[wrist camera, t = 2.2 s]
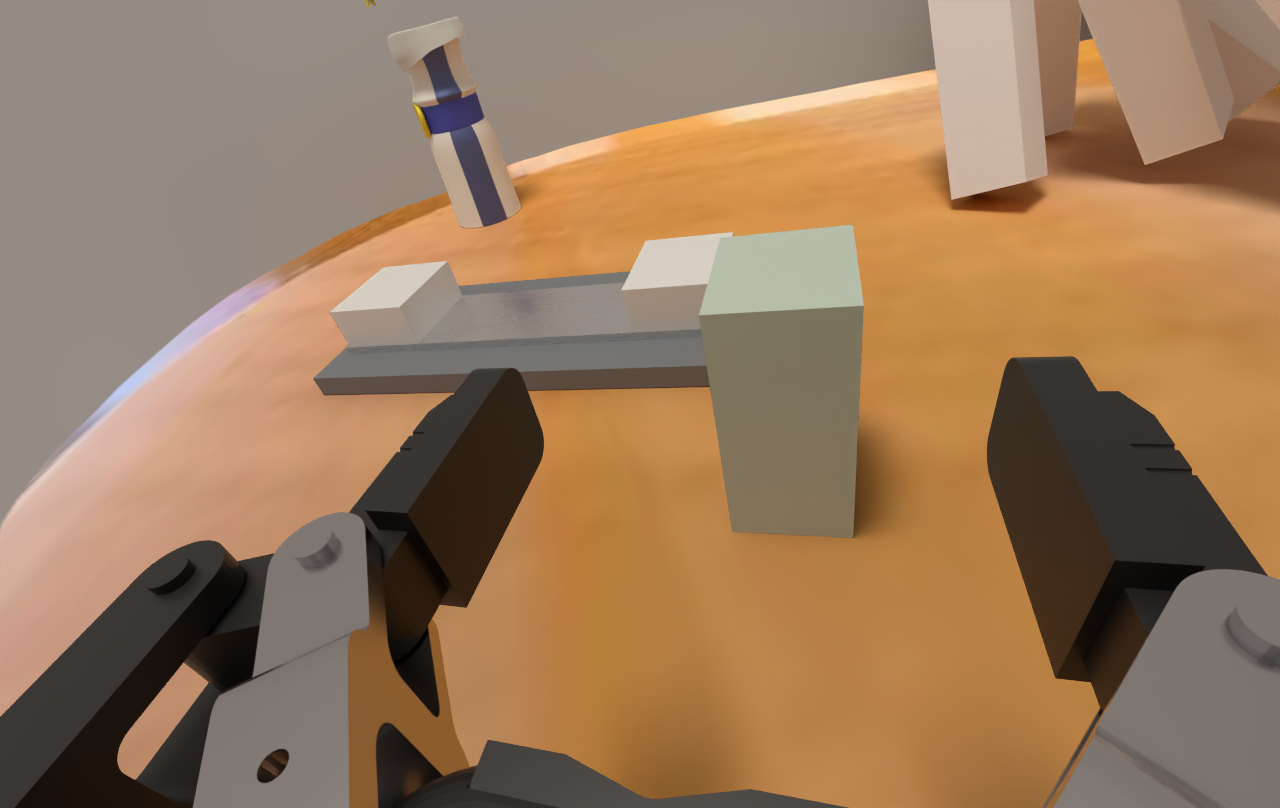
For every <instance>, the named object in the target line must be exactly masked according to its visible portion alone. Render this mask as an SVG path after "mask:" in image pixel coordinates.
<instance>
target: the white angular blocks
mask: <svg viewBox="0 0 1280 808" xmlns="http://www.w3.org/2000/svg"><path fill="white" fill-rule="evenodd" d="M928 4H929V13H930V22H931V30H932V38H933V47H934V56H935V64H936V73H937V81H938V90H939V98H940V107H941V115H942V124H943V132H944V140H945V149H946V157H947V166H948V174H949V183H950V191H951V200H953V199H957V198H961V197H965V196H969V195H974V194H978V193H982V192H986V191H990V190H994V189H999V188H1003V187H1007V186H1011V185H1015V184H1019V183H1024V182H1027V181H1031V180H1034V179H1038V178H1041V177H1045V176H1048V171H1047V159H1046V146H1045V136H1048V135H1051V134H1055V133H1058V132H1062V131H1065V130H1068V129H1072V128H1073V123H1074V109H1075V95H1076V81H1077V67H1078V53H1079V38H1080V24H1081V10H1082V12H1083V14H1084V17H1085V19H1086V22H1087V24H1088V27H1089V29H1090V31H1091V34H1092V37H1093V39H1094V41H1095V44H1096V46H1097V49H1098V51H1099V54H1100V56H1101V59H1102V61H1103V64H1104V66H1105V69H1106V71H1107V73H1108V76H1109V78H1110V81H1111V83H1112V86H1113V88H1114V91H1115V93H1116V96H1117V98H1118V101H1119V103H1120V105H1121V108H1122V110H1123V113H1124V115H1125V118H1126V120H1127V123H1128V125H1129V128H1130V130H1131V132H1132V135H1133V137H1134V140H1135V142H1136V145H1137V147H1138V150H1139V152H1140V155H1141V157H1142V160H1143V162H1144V164H1145V165H1146V164H1149V163H1152V162H1156V161H1159V160H1162V159H1165V158H1168V157H1171V156H1174V155H1177V154H1180V153H1183V152H1186V151H1189V150H1192V149H1195V148H1198V147H1201V146H1204V145H1207V144H1210V143H1213V142H1216V141H1219V140H1222V139H1223V138H1224V134H1225V131H1226V127H1227V124H1228V120H1229V121H1231V120H1232V119H1233V118H1235V117H1236V116H1237V115H1239V114H1240V113H1241V112H1243V111H1244V110H1245V109H1247V108H1248V107H1250V106H1251V105H1252V104H1254V103H1255V102H1256V101H1258V100H1259V99H1260V98H1262V97H1263V96H1264V95H1266V94H1267V93H1268V92H1270V91H1271V90H1272V89H1274V88H1275V87H1276V86H1278V85H1279V84H1280V0H928Z"/></svg>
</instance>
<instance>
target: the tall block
mask: <svg viewBox="0 0 1280 808" xmlns="http://www.w3.org/2000/svg"><path fill="white" fill-rule="evenodd" d="M863 309H864V305H863V297H862V290H861V283H860V275H859V268H858V260H857V253H856V246H855V238H854V231H853V225H846V226H836V227H826V228H816V229H806V230H795V231H785V232H775V233H765V234H755V235H744V236H734V237H724V238H720V241H719V245H718V248H717V252H716V255H715V259H714V263H713V266H712V270H711V273H710V277H709V281H708V284H707V288H706V291H705V295H704V299H703V302H702V306H701V309H700V313H699V319H700V326H701V332H702V339H703V345H704V352H705V358H706V365H707V371H708V378H709V384H710V391H711V397H712V403H713V410H714V416H715V423H716V429H717V436H718V442H719V449H720V455H721V462H722V468H723V475H724V481H725V487H726V494H727V500H728V507H729V513H730V520H731V526H732V532H749V533H768V534H787V535H806V536H824V537H843V538H853V531H854V509H855V487H856V464H857V442H858V420H859V398H860V375H861V353H862V331H863Z"/></svg>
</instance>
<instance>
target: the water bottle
mask: <svg viewBox="0 0 1280 808" xmlns="http://www.w3.org/2000/svg"><path fill="white" fill-rule="evenodd" d="M370 2H371V3H372V4H373V5H374V6H375V2H374V0H366V4H367V7H369V5H370ZM465 35H466V32H465V29H464V27H463V25H462V23H461V22H460V20H459V18H458V17H453V18H449V19H445V20H442V21H438V22H434V23H431V24H428V25H424V26H420V27H417V28H413V29H409V30H405V31H400V32H396V33H393V34H390V35H389V36H388V38H387V41H388V46H389V48H390V51H391V53H392V55H393V57H394V59H395V61H396V62H397V63H398V64H399V66H400V67H401V68H402V69H403V70H404V71H407V72H408V74H409V76H410V79H411V81H412V88H413V106H414V109H415V111H416V114H417V117H418V119H419V122H420V124H421V126H422V129H423V131H424V133H425V136H426V137H427V138H429V140H430V146H431V149H432V152H433V155H434V158H435V160H436V163H437V166H438V168H439V171H440V173H441V176H442V179H443V181H444V184H445V187H446V189H447V192H448V195H449V198H450V201H451V203H452V206H453V209H454V212H455V215H456V218H457V221H458V224H459V226H461V227H463V228H478V227H484V226H488V225H492V224H495V223H498V222H501V221H503V220H505V219H508V218H509V217H511V216H513V215H515V214H516V213H517V212H518V211H519V210H520V209H521V205H520V202H519V199H518V197H517V194H516V192H515V189H514V187H513V184H512V182H511V179H510V176H509V174H508V171H507V168H506V165H505V163H504V160H503V157H502V154H501V151H500V148H499V145H498V142H497V140H496V137H495V134H494V132H493V129H492V127H491V126H490V124H489V122H488V121H487V120H486V119H485V118H484V115H483V112H482V109H481V106H480V103H479V100H478V97H477V94H476V88H477V85H478V84H477V83H476V82H475V81H474V80H473V79H472V78H471V77H470V75H469V74H468V72H467V70H466V68H465V65H464V63H463V59H462V55H461V49H460V44H459V37H462V36H465Z"/></svg>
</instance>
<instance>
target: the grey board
mask: <svg viewBox="0 0 1280 808" xmlns="http://www.w3.org/2000/svg"><path fill="white" fill-rule="evenodd" d="M629 274H630V272H619V273H607V274H595V275H584V276H572V277H560V278H549V279H537V280H525V281H513V282H502V283H490V284H478V285H467V286H459V289H460V291H461V293H462V295H474V294H487V293H499V292H512V291H524V290H537V289H549V288H562V287H575V286H587V285H600V284H612V283H625V282H626V280H627V278H628V276H629ZM481 368H515V369H517V370H518V371H519V372H520V374H521V375H522V378H523V380H524V383H525V385H526V388H527V390H567V389H612V388H657V387H703V386H710V384H709V378H708V371H707V365H706V358H705V352H704V345H703V339H702V337H701V338H680V339H659V340H638V341H617V342H596V343H575V344H554V345H533V346H512V347H491V348H470V349H449V350H428V351H407V352H386V353H366V354H349V353H348V352H347V350H346V348H345V349H344V350H343V351H342V352H341V353H340V354H339V355H338V356H337V357H336V358H335V359H333V360H332V361H331V362H330V363H329V364H328V365H327V366H326V367H325V368H324V369H323V370H322V371H321V372H320V373H319V374H317V375H316V376H315V377H314V378H313V379H314V381H315V382H316V384H317V385H318V387H319V388H320V390H321V391H322V392H323V394H324V395H341V394H386V393H431V392H456V391H457V390H458V388H459V387H460V386H461V384H462V383H463V382H464V380H465V379H466V378H467V377H468V375H469V374H470V373H471V372H472V371H473V370H475V369H481Z"/></svg>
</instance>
